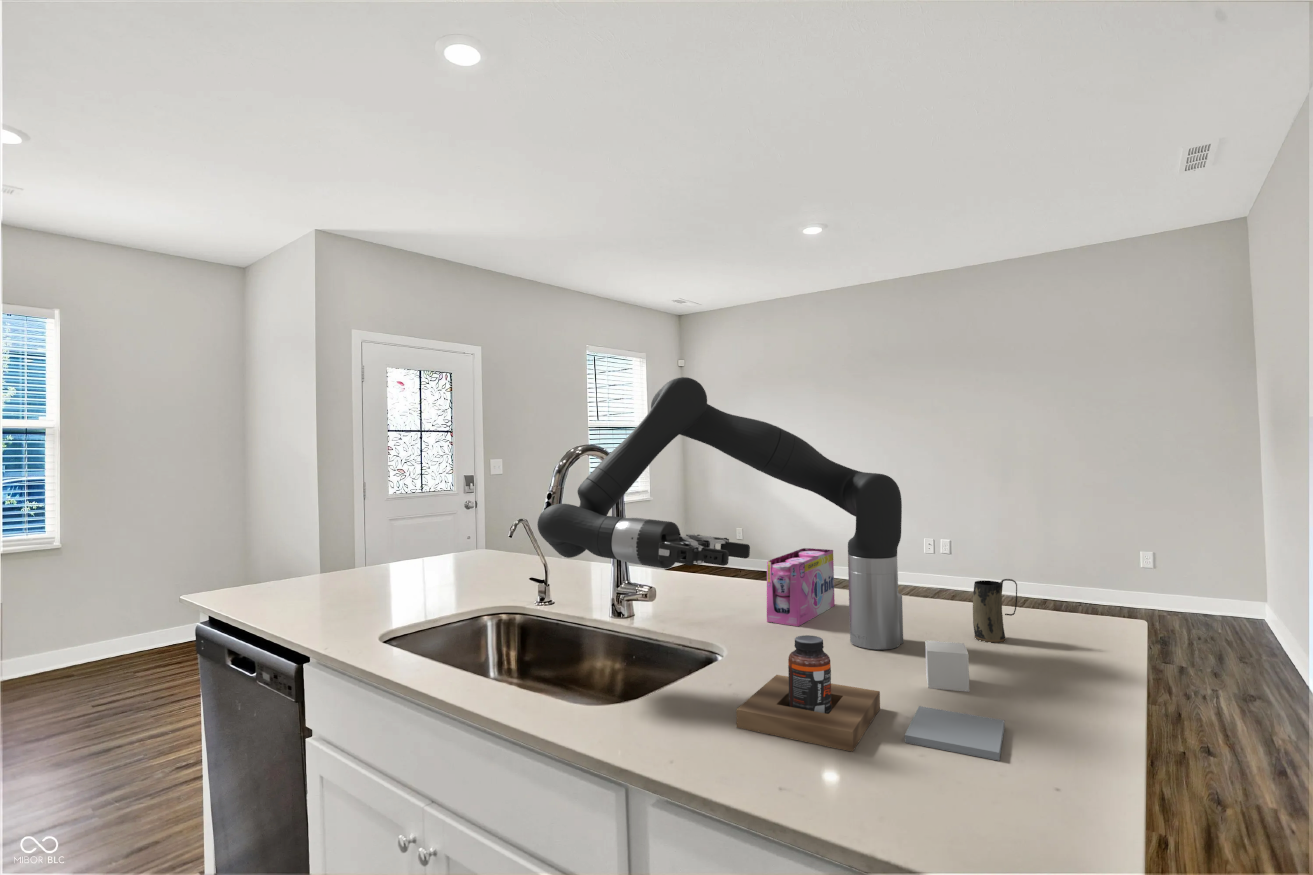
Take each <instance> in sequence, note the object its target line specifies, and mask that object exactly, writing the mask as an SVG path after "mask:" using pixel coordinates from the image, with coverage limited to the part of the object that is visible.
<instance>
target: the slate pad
mask: <svg viewBox="0 0 1313 875" xmlns="http://www.w3.org/2000/svg"><path fill="white" fill-rule="evenodd" d="M1005 726H1006V725H1005V720H1004V719H1001V718H993V717H989V716H988V717H987V716H980V715H975V714H970V713H963V712H958V711H951V710H945V709H939V708H933V707H928V706H921V705H918V708H917V709H916V712H915V713H914V716H913V717H912V719H911V722H910V724H909V726H908V728H907V729H906V732H905V733H904V743H905V744H906V743H907V744H911V745H914V746H915V745H916V746H920V747H927V748H931V749H935V750H943V751H947V752H952V753H956V754H962V755H968V756H972V757H978V758H983V759H987V760H988V759H989V760H994V761H998V762H1000V760H1001V759H1000V758H1001V752H1002V748H1003V746H1002V745H1003V739H1004V734H1005Z"/></svg>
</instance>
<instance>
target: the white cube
mask: <svg viewBox="0 0 1313 875" xmlns="http://www.w3.org/2000/svg"><path fill="white" fill-rule="evenodd" d="M924 644H925V646H924V647H925V675H926V677H925V678H926V682H927V688H928V689H935V690H948V691H956V692H957V691H958V692H959V691H960V692H969V693H970V670H969V667H970V665H969V662H970V661H969V652H968V650H967V647H966V644H965V643H964V642H953V641H952V642H951V641H938V640H925V642H924Z"/></svg>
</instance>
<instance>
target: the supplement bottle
mask: <svg viewBox="0 0 1313 875" xmlns="http://www.w3.org/2000/svg"><path fill="white" fill-rule="evenodd" d="M824 647H825V646H824V639H823V637H821V636H817V635H810V634H809V635H807V634H806V635H804V634H803V635H798V636H796V637H795V638H794V648H795V649H794V650H793V651H791V652H790V653H789V655H788V659H787V660H788V663H787V664H788V665H787V666H788V667H787V668H788V677H789V707H793V708H799V709H804V710H810V711H815V712H820V713H826V714H829V713H830V712H831V710H832V709H831V707H832V705H831V683H832V670H831V668H832V667H831V658H830V656H829V655H828V653H826V652H825V651H824Z"/></svg>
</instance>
